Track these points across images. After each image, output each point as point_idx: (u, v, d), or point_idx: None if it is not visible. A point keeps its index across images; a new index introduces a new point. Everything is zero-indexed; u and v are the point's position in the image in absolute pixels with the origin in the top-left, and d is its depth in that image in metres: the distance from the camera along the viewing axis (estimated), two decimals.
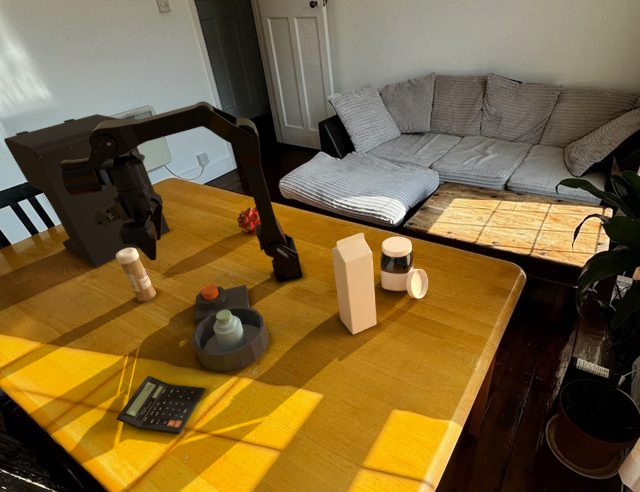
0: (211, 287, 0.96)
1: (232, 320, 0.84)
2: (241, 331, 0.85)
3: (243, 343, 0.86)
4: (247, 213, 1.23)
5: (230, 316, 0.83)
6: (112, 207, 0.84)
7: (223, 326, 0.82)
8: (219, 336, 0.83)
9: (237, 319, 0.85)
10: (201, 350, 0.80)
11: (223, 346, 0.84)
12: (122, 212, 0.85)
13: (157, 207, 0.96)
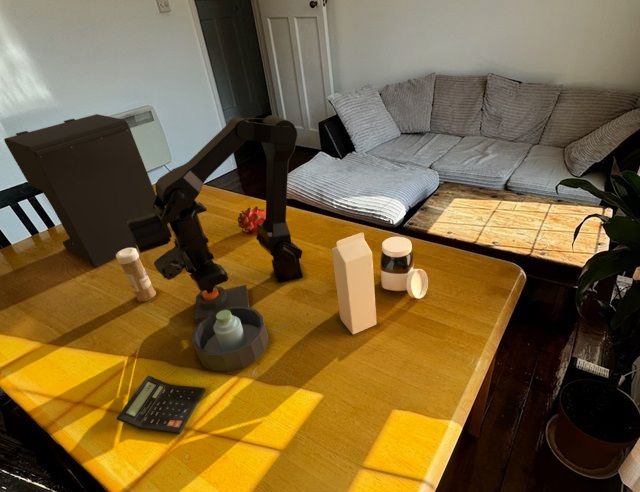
0: None
1: (232, 320, 0.84)
2: (241, 331, 0.85)
3: (243, 343, 0.86)
4: (247, 213, 1.23)
5: (230, 316, 0.83)
6: (178, 258, 0.86)
7: (223, 326, 0.82)
8: (219, 336, 0.83)
9: (237, 319, 0.85)
10: (201, 350, 0.80)
11: (223, 346, 0.84)
12: (188, 261, 0.87)
13: None
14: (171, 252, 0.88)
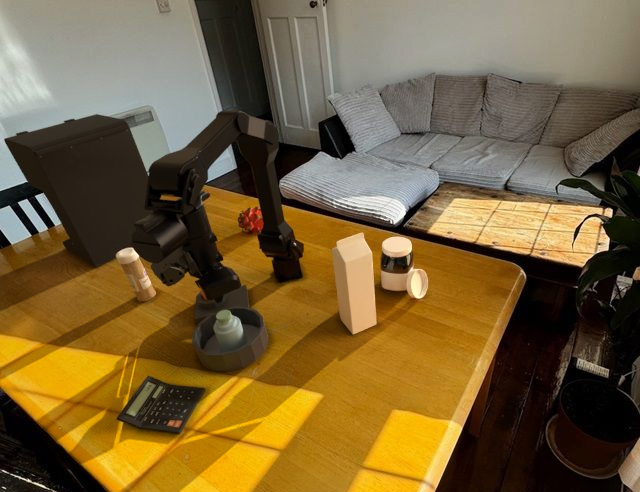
0: None
1: (232, 320, 0.84)
2: (241, 331, 0.85)
3: (243, 343, 0.86)
4: (247, 213, 1.23)
5: (230, 316, 0.83)
6: (180, 260, 0.70)
7: (223, 326, 0.82)
8: (219, 336, 0.83)
9: (237, 319, 0.85)
10: (201, 350, 0.80)
11: (223, 346, 0.84)
12: (192, 263, 0.71)
13: None
14: (172, 253, 0.72)
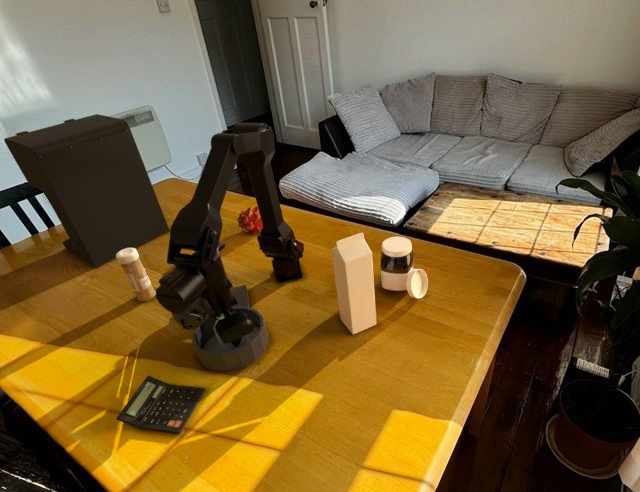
0: None
1: None
2: None
3: (243, 343, 0.86)
4: (247, 213, 1.23)
5: None
6: (198, 306, 0.76)
7: None
8: None
9: None
10: (201, 350, 0.80)
11: (223, 346, 0.84)
12: (210, 309, 0.77)
13: None
14: None
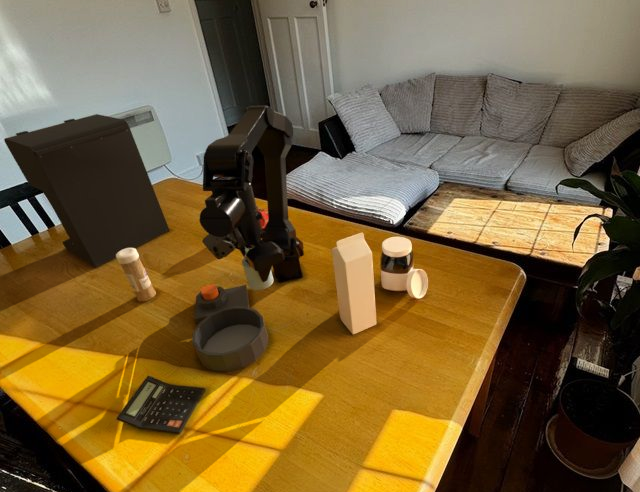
0: (211, 287, 0.96)
1: None
2: None
3: (270, 279, 0.87)
4: None
5: None
6: (230, 235, 0.77)
7: None
8: (248, 269, 0.84)
9: None
10: (201, 350, 0.80)
11: (251, 281, 0.86)
12: (241, 238, 0.78)
13: None
14: None
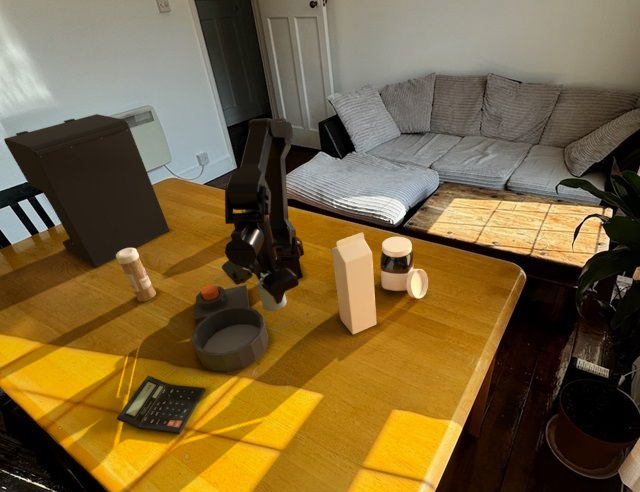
0: (211, 287, 0.96)
1: None
2: None
3: (284, 301, 0.93)
4: None
5: None
6: None
7: None
8: (263, 293, 0.90)
9: None
10: (201, 350, 0.80)
11: (266, 303, 0.91)
12: (258, 265, 0.84)
13: None
14: None
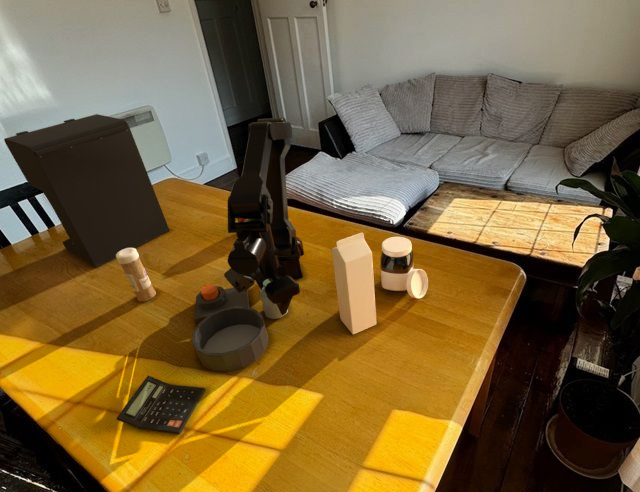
0: (211, 287, 0.96)
1: None
2: None
3: None
4: None
5: None
6: None
7: None
8: (266, 301, 0.91)
9: None
10: (201, 350, 0.80)
11: (268, 311, 0.93)
12: (260, 273, 0.85)
13: None
14: None
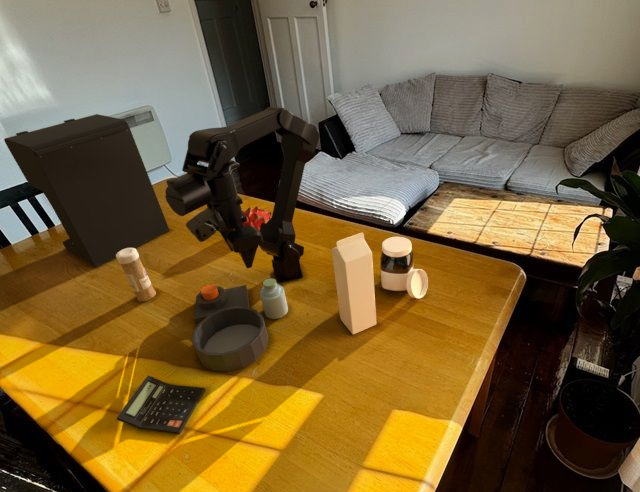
0: (211, 287, 0.96)
1: (277, 287, 0.92)
2: (284, 298, 0.93)
3: (286, 309, 0.95)
4: (247, 213, 1.23)
5: (275, 283, 0.91)
6: (211, 218, 0.82)
7: (269, 292, 0.91)
8: (266, 301, 0.91)
9: (280, 287, 0.94)
10: (201, 350, 0.80)
11: (268, 311, 0.93)
12: (222, 222, 0.83)
13: None
14: (203, 213, 0.84)
